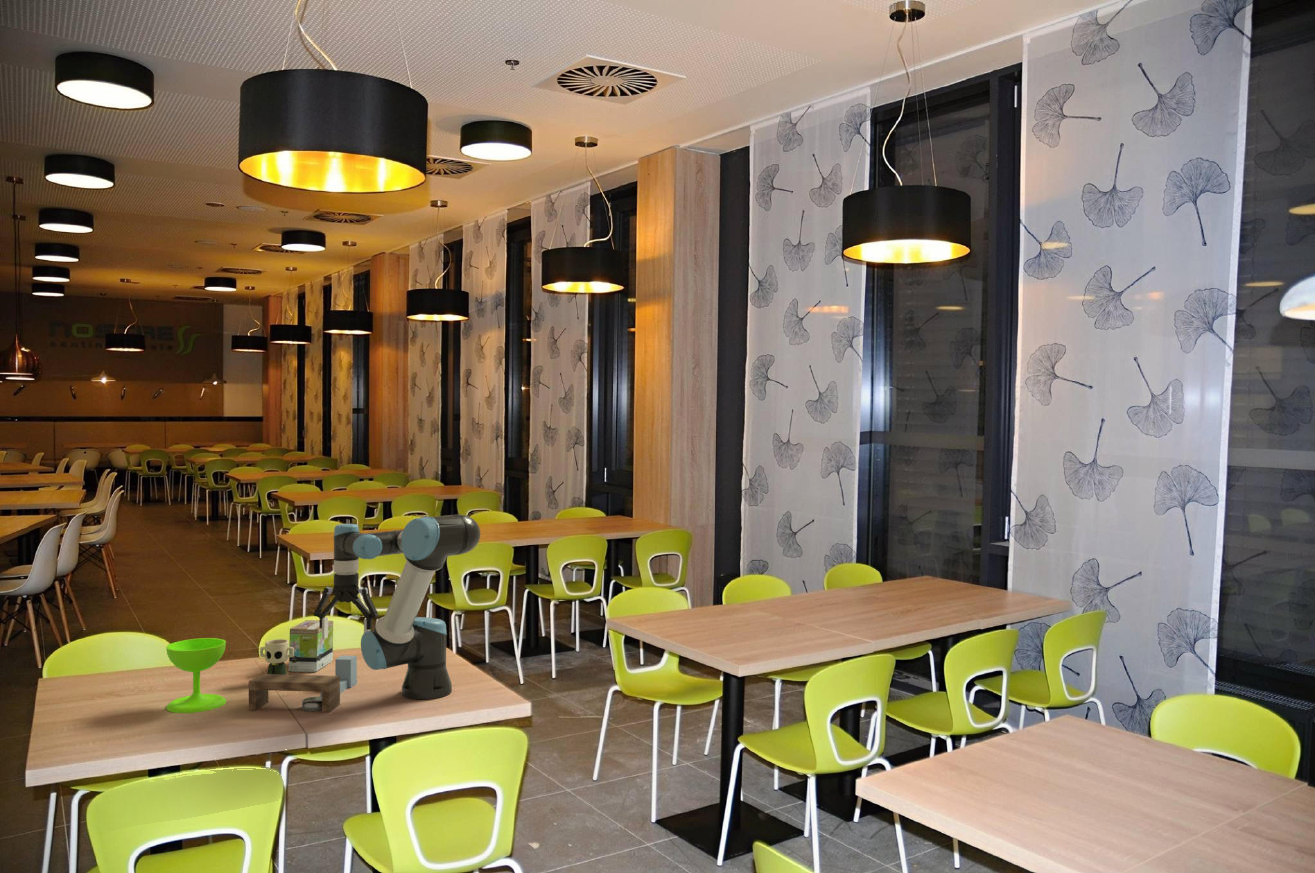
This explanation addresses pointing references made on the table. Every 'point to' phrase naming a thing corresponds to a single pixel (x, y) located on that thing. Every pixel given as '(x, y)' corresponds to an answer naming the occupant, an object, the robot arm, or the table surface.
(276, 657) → the character mug
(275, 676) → the shelf
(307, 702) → the token
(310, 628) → the tea box
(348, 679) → the push stick
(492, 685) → the table surface
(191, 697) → the wineglass
